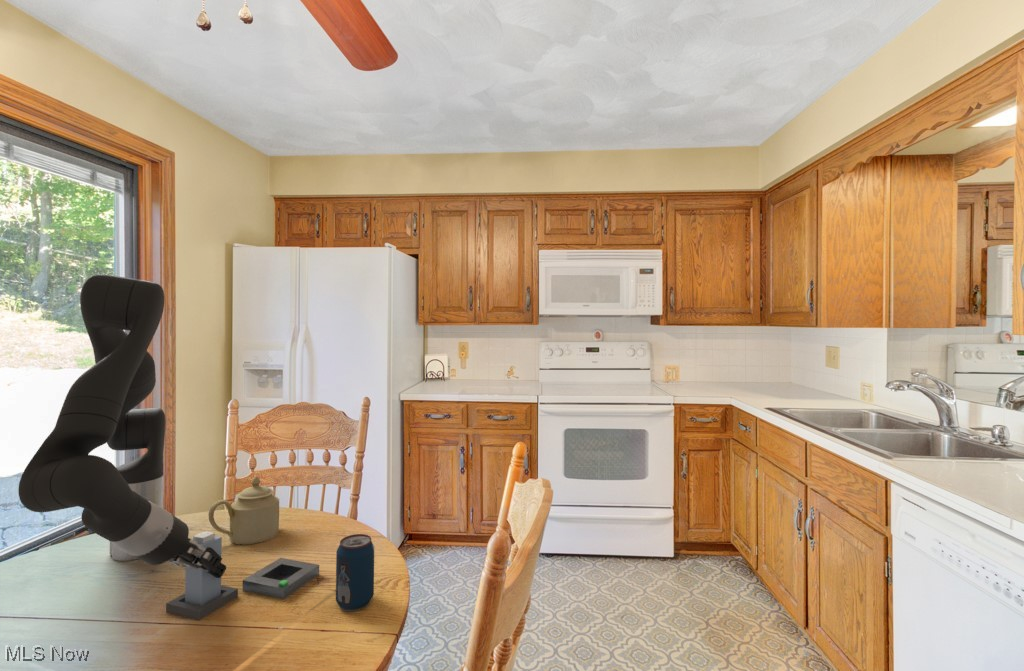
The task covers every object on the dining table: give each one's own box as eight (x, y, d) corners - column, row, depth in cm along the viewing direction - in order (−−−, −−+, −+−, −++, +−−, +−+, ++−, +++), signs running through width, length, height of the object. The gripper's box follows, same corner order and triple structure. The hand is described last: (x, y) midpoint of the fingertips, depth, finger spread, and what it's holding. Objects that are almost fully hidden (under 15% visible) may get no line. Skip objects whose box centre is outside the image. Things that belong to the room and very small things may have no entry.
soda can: (374, 591, 95) (375, 531, 95) (372, 611, 88) (373, 546, 88) (338, 594, 94) (339, 534, 93) (332, 615, 87) (333, 549, 87)
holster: (165, 614, 86) (166, 603, 86) (205, 591, 94) (206, 581, 94) (199, 622, 84) (199, 611, 84) (237, 599, 91) (237, 588, 91)
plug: (184, 607, 87) (185, 537, 87) (204, 596, 91) (205, 528, 91) (201, 611, 86) (202, 540, 86) (220, 600, 90) (221, 531, 90)
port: (242, 592, 94) (242, 577, 94) (280, 569, 103) (280, 554, 103) (283, 601, 91) (283, 585, 91) (319, 576, 100) (319, 561, 100)
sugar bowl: (243, 554, 110) (244, 490, 110) (204, 548, 112) (205, 485, 112) (288, 529, 124) (289, 472, 124) (253, 524, 127) (254, 468, 127)
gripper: (196, 515, 80) (254, 556, 91) (135, 505, 84) (197, 545, 95) (164, 561, 75) (230, 598, 86) (101, 548, 79) (171, 585, 90)
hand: (212, 570), depth 91 cm, fingers closed on plug, 4 cm apart
